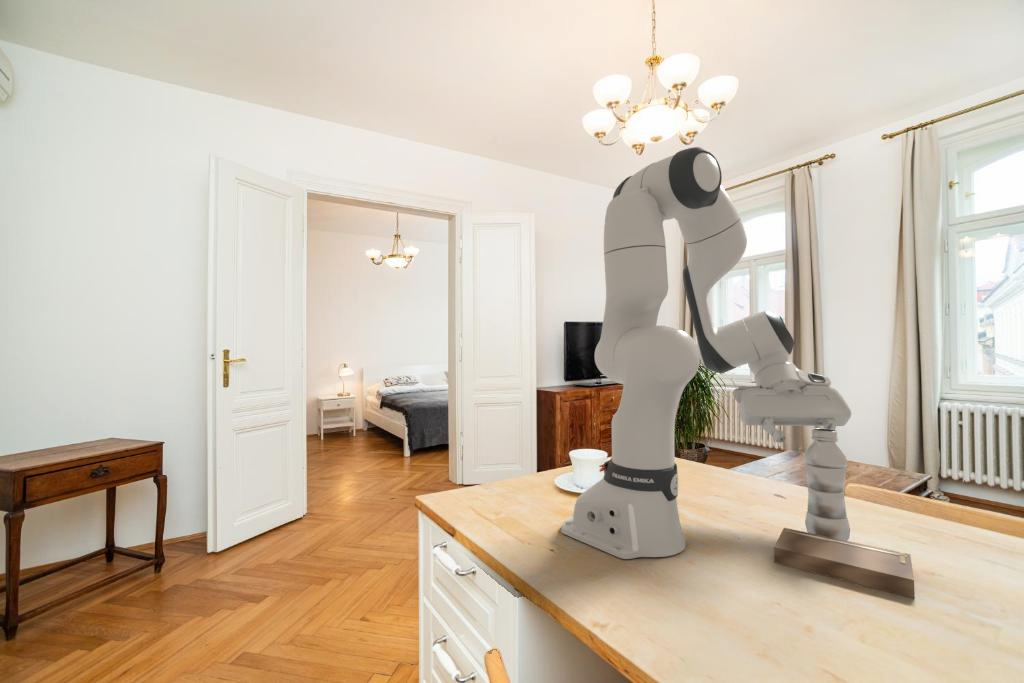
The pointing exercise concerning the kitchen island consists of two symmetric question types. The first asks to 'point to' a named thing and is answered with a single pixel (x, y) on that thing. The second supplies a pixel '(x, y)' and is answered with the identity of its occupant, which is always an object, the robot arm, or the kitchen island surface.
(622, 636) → the kitchen island surface
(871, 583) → the walnut board
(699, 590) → the kitchen island surface
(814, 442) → the plastic bottle
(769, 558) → the kitchen island surface
